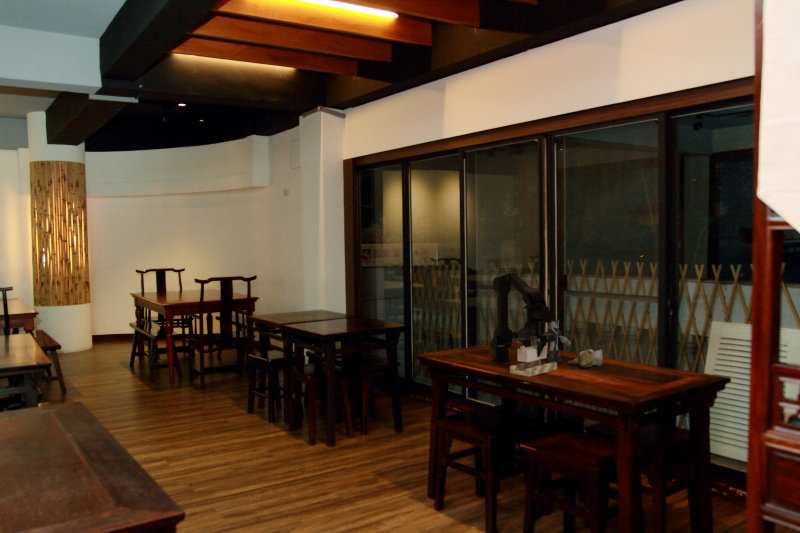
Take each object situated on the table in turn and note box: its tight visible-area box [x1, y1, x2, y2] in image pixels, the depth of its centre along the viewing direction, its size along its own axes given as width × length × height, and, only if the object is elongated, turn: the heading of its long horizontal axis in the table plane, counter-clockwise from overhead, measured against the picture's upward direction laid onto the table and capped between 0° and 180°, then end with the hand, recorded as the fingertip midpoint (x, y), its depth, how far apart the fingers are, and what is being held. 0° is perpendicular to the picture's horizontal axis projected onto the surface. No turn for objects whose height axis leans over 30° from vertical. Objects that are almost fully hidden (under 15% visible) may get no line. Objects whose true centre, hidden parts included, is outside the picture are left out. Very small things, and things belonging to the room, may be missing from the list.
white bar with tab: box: [516, 344, 548, 363], centre depth 275 cm, size 17×5×6 cm, turn 132°
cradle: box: [509, 359, 558, 377], centre depth 275 cm, size 20×10×3 cm, turn 132°
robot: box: [544, 318, 572, 364], centre depth 294 cm, size 20×5×20 cm, turn 122°
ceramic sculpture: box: [567, 347, 603, 368], centre depth 283 cm, size 11×9×15 cm
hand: (533, 356), depth 275 cm, fingers closed on white bar with tab, 5 cm apart
